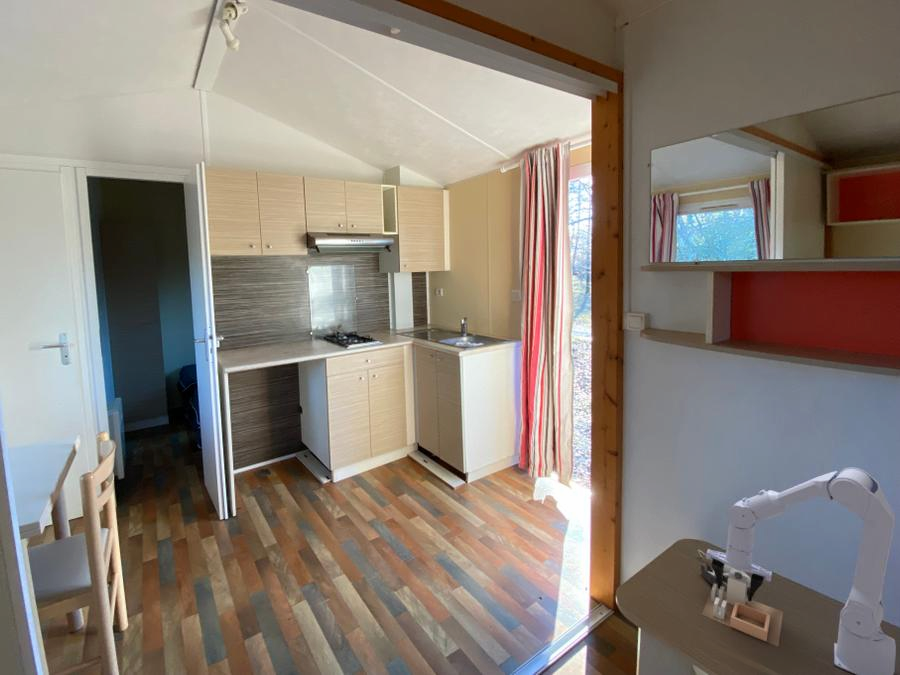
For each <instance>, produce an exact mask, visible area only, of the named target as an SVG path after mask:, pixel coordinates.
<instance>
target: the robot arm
mask: <svg viewBox="0 0 900 675" xmlns="http://www.w3.org/2000/svg"><path fill="white" fill-rule="evenodd" d="M836 474H838V475H836ZM818 497H819V498H822V499H824V500H827V501H829V502H832V501H833V500H835V501H836V502H838V504H840V505H842V506H843V507H845V508H847V509H849V510H850V511H851V512H853V513H855V514H856V515H857V516H858V518H860V519H861V520H862V521H863V527H862V532H861V538H860V544H859V547H858V548H859V549H858V553H857V554H858V555H857V559H856V565H855V572H854V576H853V582H852V587H851V591H850V592H849V594H848V596H847V601H846V603H845V604H844V606H843V608H842V609H841V610H840V612H839V622H838V623H839V625H838V635H837V643H836V642H834V643H833V664H834V666H835V667H838V668H839V669H842V670H845V671H846V672H850V673H851V674H852V673H853V674H855V675H894V674H895V666H896V665H895V664H896V657H897V656H896V654H897V650H896V649H897V648H896V640H895V638H893V637H891V636H889V635H887V634H886V633H884V631H883V629H882V627H881V622H882V621H883V618H884V616H885V614H886V608H885V605H884V603H883V599H882V598H883V588H884V581H885V576H886V572H887V565H888V561H889V556H890V550H891V546H892V540H893V535H894V529H895V524H896V515H895V513H894V510H893V509H892V507H891V505H890V503H889V502H888V500H887V498H886V497H885V494H884V493H883V490H882V488H881V485H880V483H879V482H878V481H877V480H876V479H875V478H874V477H873V476H872V475H871V474H869V473H868V472H867V471H865V470H863V469H862V468H858V467H852V466H851V467H845V468H843V469H841V470H840V471H839V473H838V470H835V471H831V472H828V473H825V474H822V475H819V476H817V477H814V478H812V479H809V480H807V481H805V482H802V483H800V484H796V485H795V486H792V487H790V488H788V489H785V490H783V491H781V492H779V491H775V490H771V489H770V490H768V491H767V490H765V489H761V490H760V491H758V494H756V495H754V496H752V497H749V498H748V497H747V496H746V497H743V498H742V499H741V500H738V501H736V502H735V503H734V504H733V505H732V506H730V507H729V509H728V510H727V518H728V520H729V525H728V531H727V532H728V533H727V541H726V542H727V545H726V551H725V552H722V551H717V550H712V549H710V548H708V549H707V551H706V555H705V558H706V559H707V560H711V559H712V560H711V565H710V566H711V569H713V570H714V573H715V575H716V579H717V587H718V589H720V587H721V586H723V585H722V584H723V573H724V565H725V564H726V565H728V566H730V567H732V568H734V569H736V570H739V571H744V572H745V573H749V574H751V577H750V578H751V583H750V587H749V593H748V597H747V598H748V601H750V602H751V600H753V597H754V594H755V593H756V591H758V589H759V588H761V586H762V585H763V582H764V580H765V581H767V582H771V580H772V574H773V572H772V571H771V570H769V569H767V568H764V567H762V566H761V565H759V564H757V563H754V562H752V561H753V553H754V544H755V543H754V542H755V536H756V532H755V531H756V522H763V521H765V520H769V519H773V518H775V517H778V516H781V515H783V514H786V513H787V509H788V506H791V505H795V504H798V503H803V502H804V501H807V500H811V499H814V498H818Z"/></svg>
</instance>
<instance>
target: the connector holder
mask: <svg viewBox="0 0 900 675" xmlns="http://www.w3.org/2000/svg"><path fill="white" fill-rule="evenodd" d="M738 613H739V614H742V615H744V616H747V617H749V618H752V619H754V620H757V621H759V622H762V623H764V624H765V626H764V629H763V628H761V627H758V626H756V625H753V624H751V623H749V622H746V621H744V620H741V619H739V618H736V617H737V614H738ZM769 624H770V614H767V613H765V612H762V611H759V610H757V609H754V608H752V607H749V606H747V605H744V604H741V603H739V602H735V605H734V609H733V612H732V615H731V622H730V626H731V627H730V628H732V627H733V628H732V629H734V628H735V629H734V630H737V629H738V630H737V631H739V630H740V631H739V632H741V631H742V633H744V632H745V633H744V634H746V633H747V634H746V635H748V634H750V635H749V636H751V635H752V636H751V637H753V636H754V637H753V638H756V637H757V638H756V639H758V638H759V639H758V640H760V639H761V641H763V640H764V641H763V642H765V641H767V635H768V630H769Z"/></svg>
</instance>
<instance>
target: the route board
mask: <svg viewBox="0 0 900 675" xmlns="http://www.w3.org/2000/svg"><path fill="white" fill-rule="evenodd" d="M712 588H713V586H712ZM712 588H711V590H710V592H709V594H708V598H707V600H706V602H705V604H704V605H705V606H704V607H703V610H702V612H701V616H703V617H705V618H708V619H710V620H712V621H716V622H718V623H720V624H722V625H725V626H727V627H729V628H731V629H734V630H737V631H738V632H742V631H740V630H738V629H735V628H733V627H731V626H730V622H731V615H732V612H733V609H734V605H732V604H730V603H727V606H726V615H725V618H724V620H722V619H720V618H718V617H715V616H713V609H714V602H713V601H711V595H712ZM719 590H720V589H718V586H717V593H719ZM726 598H727V589H724V597H723V600H725V601H726ZM722 602H723V601H722ZM721 605H722V604H719V607H720V608H721ZM745 605H747V606H749V607H752V608H754V609H757V610H759V611H762V612H765V613H767V614H770V624H769V630H768V635H767V641H764V640H761V639H759V638H757V637H754V636H752V635H750V634H747V633H745V632H742V633H744V634H746V635H749V636H751V637H753V638H756V639H758V640H761V641H763V642H765V643H768V644H770V645H771V646H774V647H777V648H779V644H780V637H781V630H782V622H783V618H784V617H783V615H784V611H782V610H780V609H777V608H774V607H772V606H768V605H766V604H763V603H761V602H758V601H755V600H754V599H752V600H751V602H750V601H748V597H746V603H745ZM736 618H739V619H741V620H744V621H746V622H749V623H751V624H753V625H756V626H758V627H761V628H763V629H764V626H765V624H764V623H762V622H759V621H757V620H754V619H752V618H749V617H747V616H744V615H742V614H739V613H738V614H737V617H736Z"/></svg>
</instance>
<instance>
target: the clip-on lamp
mask: <svg viewBox="0 0 900 675" xmlns="http://www.w3.org/2000/svg"><path fill="white" fill-rule="evenodd" d="M697 552H698V554H699V556H700V557H701V558H702V559H704V556H706V555H707V553H705V552H703V551H702V550H700V549H697ZM700 552H701V553H702V554H703V555H704V556H702V554H701V553H700ZM712 560H713V559H711V561H712ZM705 567H706V568H705ZM700 570H701V572H700V573H701V576H702V577H703V578H704V580H706V581H707V582H708V583H710V584H711V585H712V586H713V585H714V583H715V584H717V585H718V583H717V579H716V575H715V573H714V570H713V568H712V565H710V564H708V563H707V564H706V566H704V565H703V564H700ZM730 571H733V572H739V573H741V574H742V575H745V576H748V584H747V589H748V588H750V583H751V577H750V576H749V575H748V574H747V572H744V571H739V570H736V569H734V568H732V567H730V566H728V565H726V564H724V570H723V584H722V586H723V585H724V586H726V587H727V585H728V577H729V574H730Z"/></svg>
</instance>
